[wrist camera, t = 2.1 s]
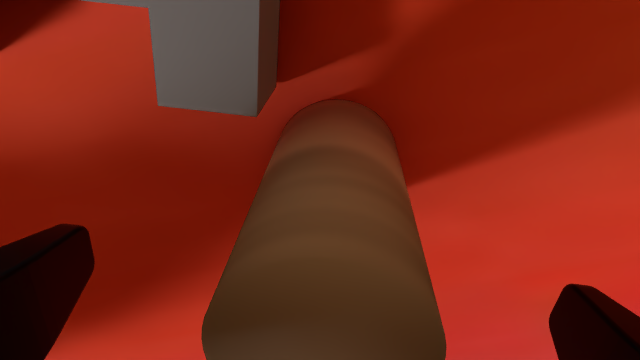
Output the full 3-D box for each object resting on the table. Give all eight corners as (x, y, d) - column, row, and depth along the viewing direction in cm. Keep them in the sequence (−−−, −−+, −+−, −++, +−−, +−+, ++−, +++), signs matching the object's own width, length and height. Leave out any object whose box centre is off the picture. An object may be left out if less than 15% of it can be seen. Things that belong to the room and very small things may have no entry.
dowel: (385, 214, 13) (417, 438, 7) (274, 201, 13) (205, 412, 7) (407, 107, 11) (477, 273, 5) (280, 92, 11) (195, 240, 5)
